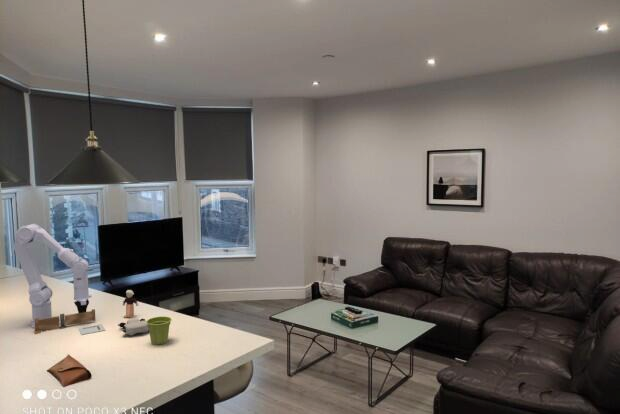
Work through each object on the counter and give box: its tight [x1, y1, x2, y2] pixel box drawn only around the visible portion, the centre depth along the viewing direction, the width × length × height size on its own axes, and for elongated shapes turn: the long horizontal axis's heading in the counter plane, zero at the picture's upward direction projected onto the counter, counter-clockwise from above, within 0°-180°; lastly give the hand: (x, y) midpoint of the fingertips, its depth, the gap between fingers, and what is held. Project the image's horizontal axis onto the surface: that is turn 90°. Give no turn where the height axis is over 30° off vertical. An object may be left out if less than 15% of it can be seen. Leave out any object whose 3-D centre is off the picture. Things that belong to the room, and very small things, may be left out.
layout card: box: [78, 323, 106, 336], centre depth 182 cm, size 9×9×1 cm
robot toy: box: [117, 317, 149, 336], centre depth 180 cm, size 12×4×15 cm
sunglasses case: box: [46, 354, 93, 388], centre depth 141 cm, size 18×7×7 cm
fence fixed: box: [33, 315, 68, 335], centre depth 182 cm, size 5×12×6 cm, turn 124°
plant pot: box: [145, 315, 172, 345], centre depth 168 cm, size 9×9×9 cm
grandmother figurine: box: [122, 289, 139, 319], centre depth 197 cm, size 8×4×13 cm, turn 92°
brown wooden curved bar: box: [59, 308, 96, 326], centre depth 188 cm, size 14×2×5 cm, turn 124°
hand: (82, 316), depth 192 cm, fingers closed
